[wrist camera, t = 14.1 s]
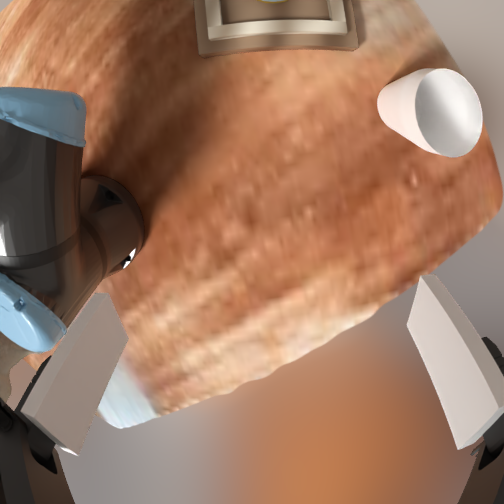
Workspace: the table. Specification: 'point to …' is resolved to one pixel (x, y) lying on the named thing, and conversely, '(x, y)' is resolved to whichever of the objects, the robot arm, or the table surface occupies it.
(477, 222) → the table surface
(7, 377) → the bust
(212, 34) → the plinth
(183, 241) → the table surface
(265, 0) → the bottle
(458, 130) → the cup
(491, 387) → the robot arm
